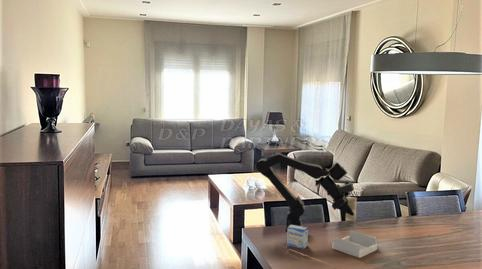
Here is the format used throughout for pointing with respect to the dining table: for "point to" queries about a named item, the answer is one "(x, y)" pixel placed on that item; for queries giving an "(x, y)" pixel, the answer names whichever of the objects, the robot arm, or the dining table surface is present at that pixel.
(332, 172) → the robot arm
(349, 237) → the white open box
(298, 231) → the medicine box
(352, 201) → the birch block
